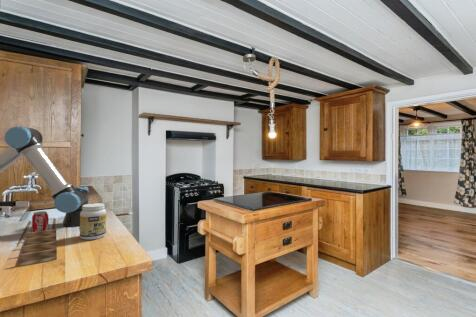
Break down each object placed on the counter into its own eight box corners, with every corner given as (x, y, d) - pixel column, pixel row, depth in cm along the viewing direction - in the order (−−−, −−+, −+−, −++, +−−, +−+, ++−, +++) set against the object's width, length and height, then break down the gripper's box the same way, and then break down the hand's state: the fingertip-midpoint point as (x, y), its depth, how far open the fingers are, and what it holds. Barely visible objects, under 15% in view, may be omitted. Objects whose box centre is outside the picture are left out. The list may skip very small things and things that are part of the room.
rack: (56, 237, 136) (56, 229, 136) (56, 259, 108) (56, 249, 108) (26, 241, 129) (26, 232, 129) (19, 266, 101) (19, 255, 101)
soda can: (51, 233, 141) (51, 211, 141) (37, 237, 134) (37, 214, 134) (42, 232, 143) (42, 210, 143) (28, 236, 137) (28, 213, 137)
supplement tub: (87, 242, 129) (87, 208, 129) (75, 237, 136) (75, 205, 135) (110, 235, 139) (111, 204, 139) (98, 231, 146) (98, 201, 146)
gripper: (-5, 208, 148) (35, 208, 150) (-49, 219, 123) (0, 219, 125) (-4, 195, 148) (35, 195, 150) (-48, 203, 123) (0, 203, 125)
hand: (19, 206), depth 138 cm, fingers open, 13 cm apart
